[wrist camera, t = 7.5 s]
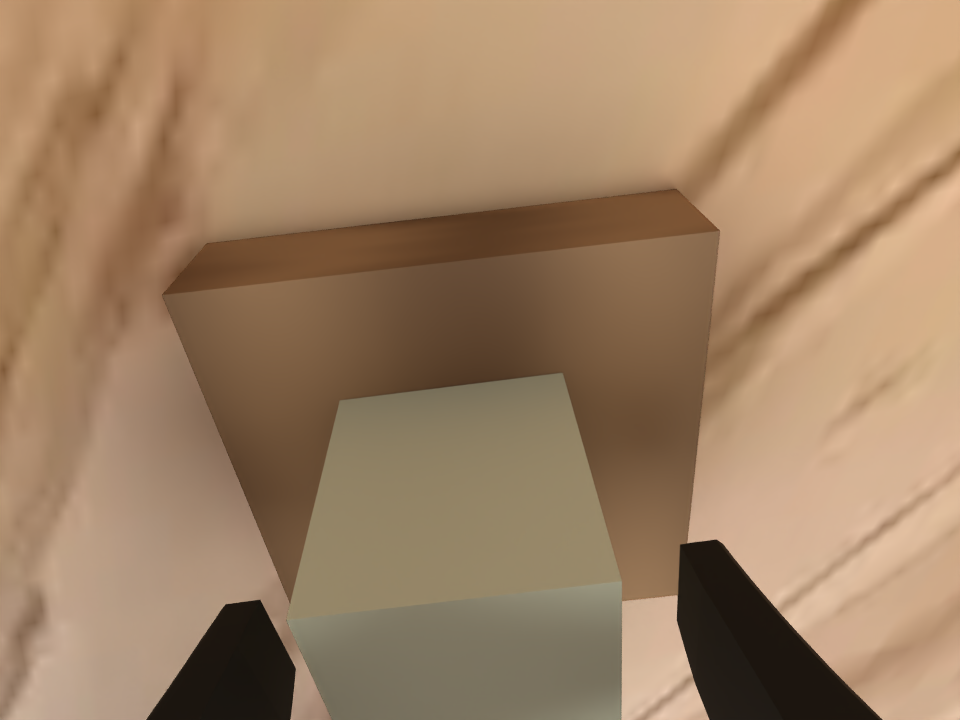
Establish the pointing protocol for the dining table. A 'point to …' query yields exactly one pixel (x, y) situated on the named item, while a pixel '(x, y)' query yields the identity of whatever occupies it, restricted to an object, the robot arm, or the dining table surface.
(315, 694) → the dining table surface
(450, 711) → the sage cube
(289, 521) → the walnut block
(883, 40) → the dining table surface
